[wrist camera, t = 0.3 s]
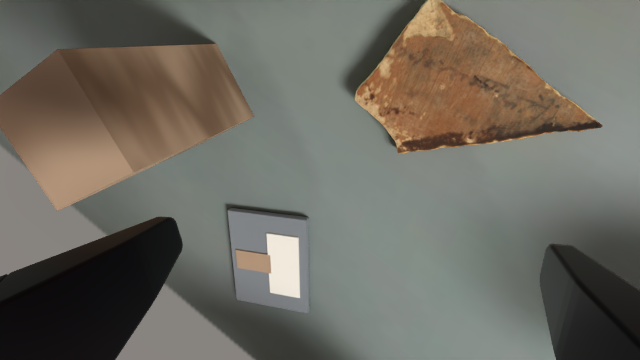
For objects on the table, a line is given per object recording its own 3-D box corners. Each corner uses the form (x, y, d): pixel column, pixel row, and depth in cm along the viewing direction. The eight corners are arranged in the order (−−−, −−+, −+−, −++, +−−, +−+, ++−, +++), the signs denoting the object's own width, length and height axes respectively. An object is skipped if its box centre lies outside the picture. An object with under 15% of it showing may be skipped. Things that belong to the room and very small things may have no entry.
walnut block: (254, 116, 24) (133, 172, 14) (198, 144, 26) (57, 211, 16) (216, 43, 23) (57, 49, 13) (160, 78, 25) (-15, 106, 15)
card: (309, 309, 29) (307, 314, 28) (239, 295, 30) (236, 300, 29) (308, 217, 26) (305, 221, 25) (230, 207, 27) (226, 211, 27)
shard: (592, 120, 19) (607, 128, 18) (482, 214, 23) (486, 227, 21) (433, -10, 19) (434, -14, 18) (346, 104, 23) (340, 110, 21)
